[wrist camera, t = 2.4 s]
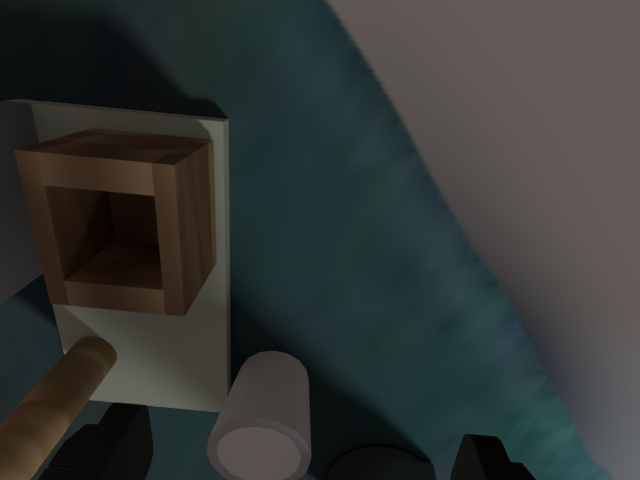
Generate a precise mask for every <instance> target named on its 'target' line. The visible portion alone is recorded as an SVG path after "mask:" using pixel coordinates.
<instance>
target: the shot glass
mask: <svg viewBox="0 0 640 480" xmlns="http://www.w3.org/2000/svg"><path fill="white" fill-rule="evenodd" d="M207 455H208V457H209V460H210V462H211V465H212V466H213V467H214V468H215V469H216V470H217V471H218V472H219V473H220V474H221V475H222V476H223V477H224V478H226V479H228V480H298V479H299V478H301V477H302V476H303V475H304V474H305V473H306V472H307V470H308V467H309V464H310V461H311V433H310V402H309V379H308V374H307V370H306V368H305V367H304V366H303V365H302V363H301V362H300V361H299V360H298V359H296V358H294V357H292V356H291V355H289V354H287V353H283V352H278V351H265V352H259V353H257V354H255V355H253V356H251V357H249V358H248V359H247V360H246V361H245V362H244V364H243V365H242V366H241V368H240V370H239V373H238V375H237V377H236V379H235V381H234V384H233V386H232V388H231V390H230V393H229V395H228V397H227V399H226V401H225V404H224V406H223V408H222V410H221V413H220V415H219V417H218V419H217V421H216V424H215V426H214V428H213V430H212V432H211V435H210V437H209V440H208V446H207Z"/></svg>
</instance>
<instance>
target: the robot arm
mask: <svg viewBox="0 0 640 480" xmlns="http://www.w3.org/2000/svg"><path fill="white" fill-rule="evenodd" d="M152 456H153V439H152V432H151V425H150V418H149V411H148V407H147V406H146V405H142V404H131V403H119V402H115V403H113V404H112V405H111V406H110V407H109V408H108V410H107V411H106V413H105V414H104V416H103V417H102V419H101V421H100V422H99V424H98V425H95V424H86V425H84V426H83V427H82V428H81V429H80V430H78V431H77V432H76V433H75V434H74V435H72V436H71V437H70V438H69V439H68V440H66V441H65V442H64V443H63V445H62V446H61V448H60V449H59V451H58V452H57V453H56V455H55V456H54V458H53V459H52V460H51V462H50V463H49V466H48V468H47V469H45V470H44V472H43V473H42V475H41V476H40V477H39V479H38V480H145V478H146V475H147V473H148V471H149V468H150V465H151V461H152ZM327 480H437V479H436V475H435V470H434V466H433V464H432V463H427V462H422V461H420V460H418V459H417V458H415V457H414V456H412V455H411V454H409V453H407V452H404V451H402V450H399V449H395V448H391V447H382V446H376V447H365V448H360V449H356V450H354V451H351V452H348V453H347V454H345V455H343V456H341V457H340V458H339V459H338V460H337V461H335V462H334V463H333V465H332V466H331V468H330V470H329V473H328V476H327ZM451 480H536V479H535V478H534V477H533V476H532V475H531V473H530V472H529V471H528V470H527V469H526V467H525V466H524V465H523V464H522V463H516V462H510V460H509V458H508V455H507V453H506V451H505V448H504V446H503V444H502V442H501V440H500V439H499V438H498V437H495V436H485V435H473V434H465V435H464V437H463V439H462V442H461V445H460V448H459V451H458V454H457V457H456V460H455V463H454V466H453V469H452V472H451Z"/></svg>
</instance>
